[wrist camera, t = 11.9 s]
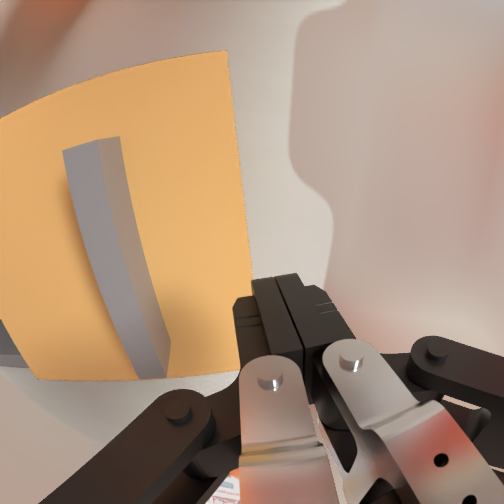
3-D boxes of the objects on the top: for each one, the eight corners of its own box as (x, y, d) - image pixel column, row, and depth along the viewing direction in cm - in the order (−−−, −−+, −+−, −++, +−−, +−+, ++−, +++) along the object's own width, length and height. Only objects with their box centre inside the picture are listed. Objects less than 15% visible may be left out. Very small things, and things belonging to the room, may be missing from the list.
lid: (-43, 148, 11) (-82, 160, 7) (225, 55, 12) (230, 31, 8) (41, 370, 18) (25, 405, 15) (260, 356, 20) (271, 400, 16)
